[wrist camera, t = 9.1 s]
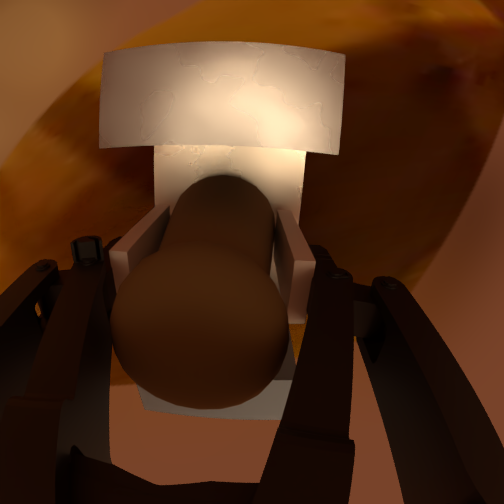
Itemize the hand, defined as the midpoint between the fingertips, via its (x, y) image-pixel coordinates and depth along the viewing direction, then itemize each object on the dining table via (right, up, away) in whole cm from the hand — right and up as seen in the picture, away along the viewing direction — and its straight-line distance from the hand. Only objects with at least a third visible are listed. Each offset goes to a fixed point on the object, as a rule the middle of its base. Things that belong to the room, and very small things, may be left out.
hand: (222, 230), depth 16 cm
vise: (0, +1, +3) cm, 3 cm away
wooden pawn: (0, 0, +1) cm, 1 cm away
